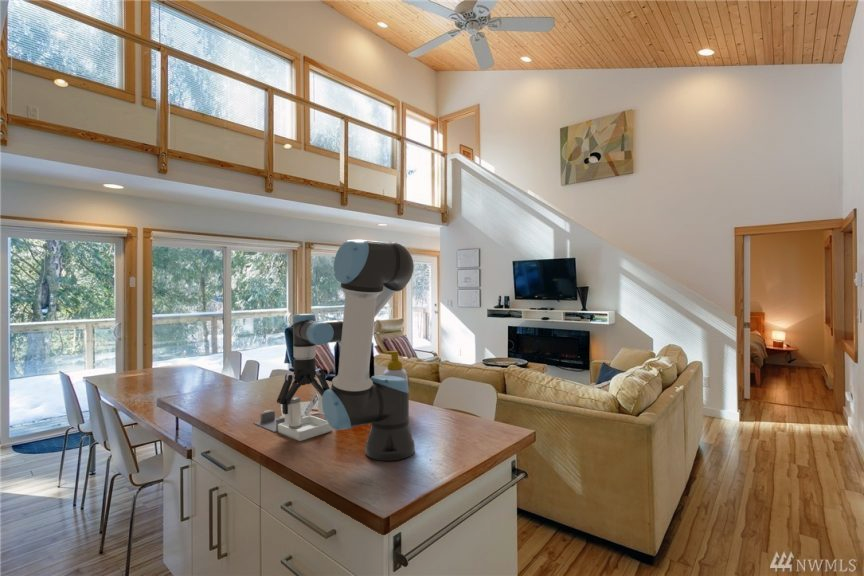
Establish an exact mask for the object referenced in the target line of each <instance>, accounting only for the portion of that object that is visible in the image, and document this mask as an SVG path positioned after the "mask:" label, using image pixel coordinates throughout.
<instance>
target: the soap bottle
mask: <svg viewBox="0 0 864 576" xmlns="http://www.w3.org/2000/svg"><path fill="white" fill-rule="evenodd" d="M385 354H386V355H390V357H391V358H390V359H391V360H389V361H388V363H387V368H386V369H385V370H384V371H383V374H382V375H386V376H396V377H401V378H404V379H406V380H407V370H406V369H405V368H403V363H402V361H401V360H399V351H398V350H391V351H390V350H389V351H385Z"/></svg>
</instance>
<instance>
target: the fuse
mask: <svg viewBox="0 0 864 576" xmlns="http://www.w3.org/2000/svg"><path fill="white" fill-rule="evenodd" d="M289 404H291V424H289V428H292V429H300V428H301V427H302V421H301V418H302V408H301V406H302V405H301V397H300V396H293V397H292V399H291V400H290V402H289Z"/></svg>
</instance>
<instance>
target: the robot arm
mask: <svg viewBox="0 0 864 576" xmlns="http://www.w3.org/2000/svg"><path fill="white" fill-rule="evenodd" d="M414 266H415V264H414V259H413V257H412V254H411V253H410V252H409V250H408V249H407V248H406V247H405V246H404V245H402V244H400V243H397V242H395V241H377V240H369V239H368V240H367V239H366V240H365V239H348V240H346V241H344V242H343V243H341V246H339V248H338V249H337V251H336V254H335V256H334V261H333V271H334V278H335V279H336V281H337V282H338V283H340V289H341V290H342V291H343V292H344V293H345V297H344V307H343V317H342V319H331V320H316V316H315V314H314V313H296V314H294V316H293V319H292V329H293V330H292V335H293V337H292V338H293V341H292V343H293V345H292V347H293V360H292V361H293V363H292V364H293V374H289V373H286V374H285V375H284V382H283V383H282V388H281V390H280V392H279V394H278V397H277V398H276V403H277V404H280V405H281V407H282V410H281V411H282V414H283V415H284V416H285V423H287V424H291V404H289V402H290V400H291V399H292V397H295V394H296V393H297V391H298V390H299V389H300V387H302V386H305V385H311V386H313V388H314V389H315V390H316V391H317V392H318V393H319V395H318V396H317V402H318V404H317V407H318V408H317V411H318V414H319V415H324V418H325V419H326V421H327V422H328V423H329V425H330V426H331V427H332V430H335V431H341V430H343V431H344V430H350V429H352V428H356V427H359V426H360V427H361V426H363V425H369V424H371V425H370V430H369V434H368V439H367V441H366V444H365V454H366V456H367V457H369V458H370V459H373V460H378V461H398V460H399V461H400V460H402V459H406V458H409V457H410V456H413V454H414V453H415V450H416V449H415V448H416V445H415V440H414V439H413V435H412V431H411V428H410V421H409V420H410V419H409V417H410V416H409V415H410V414H409V413H410V412H409V410H410V406H409V401H410V400H409V399H410V398H409V397H410V396H409V395H410V389H409V383H408V380H407V378H406V379H404V378H401V377H396V376H386V375H383V374H381V375H378V374H377V375H372V376H371V377H369V373H370V366H371V365H370V363H371V356H372V345H373V336H374V335H373V333H374V326H375V318H376V317H377V315H378V314H379V313H380V312H381V311H382V309H383V308H384V307H385V306H386V305H387V303H388V302H389V301H390V300H391V298H393V296H394V295H395V294H396V293H397V292H400V291H403V290H404V289H405V287H406V286H407V285H408V284H409V282H410V280H411V279H412V277H413V274H414V269H415V267H414ZM337 342H340V350H339V359H338V361H339V362H338V372H337V375H336V376H334V377H333V378H332V380H331V388H330V386H329V384H328V381H327V380H326V378H325V375H324V369H322V368H316V367H317V364H316V363H317V361H316V360H317V359H316V355H317V353H316V352H317V351H316V350H317V349H316V346H320V345H321V346H323V345H327V344H329V343H337ZM315 376H316V377H317V379H318V380H317V379H316V378H315ZM318 381H319V383H318Z"/></svg>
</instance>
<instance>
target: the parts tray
mask: <svg viewBox="0 0 864 576" xmlns="http://www.w3.org/2000/svg"><path fill="white" fill-rule="evenodd" d="M301 421H302V427H301V428H300V429H292V428H289V424H287V423H285V422H284V423H280V424H278V432H277V434H278V433H279V434H281V435H282V436H286V437H287V438H290V439H293V440H295V441H298V442H301V441H304V440H308V439H310V438H313V437H317V436H320V435H324V434H326V433H329V432H333V428H332V427H331V426H330V425H329V423H328V422H327V420H325V419H323V418H320V417H317V416H314V415H311V414H310V415H306V416H303V417H302V416H301Z"/></svg>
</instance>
